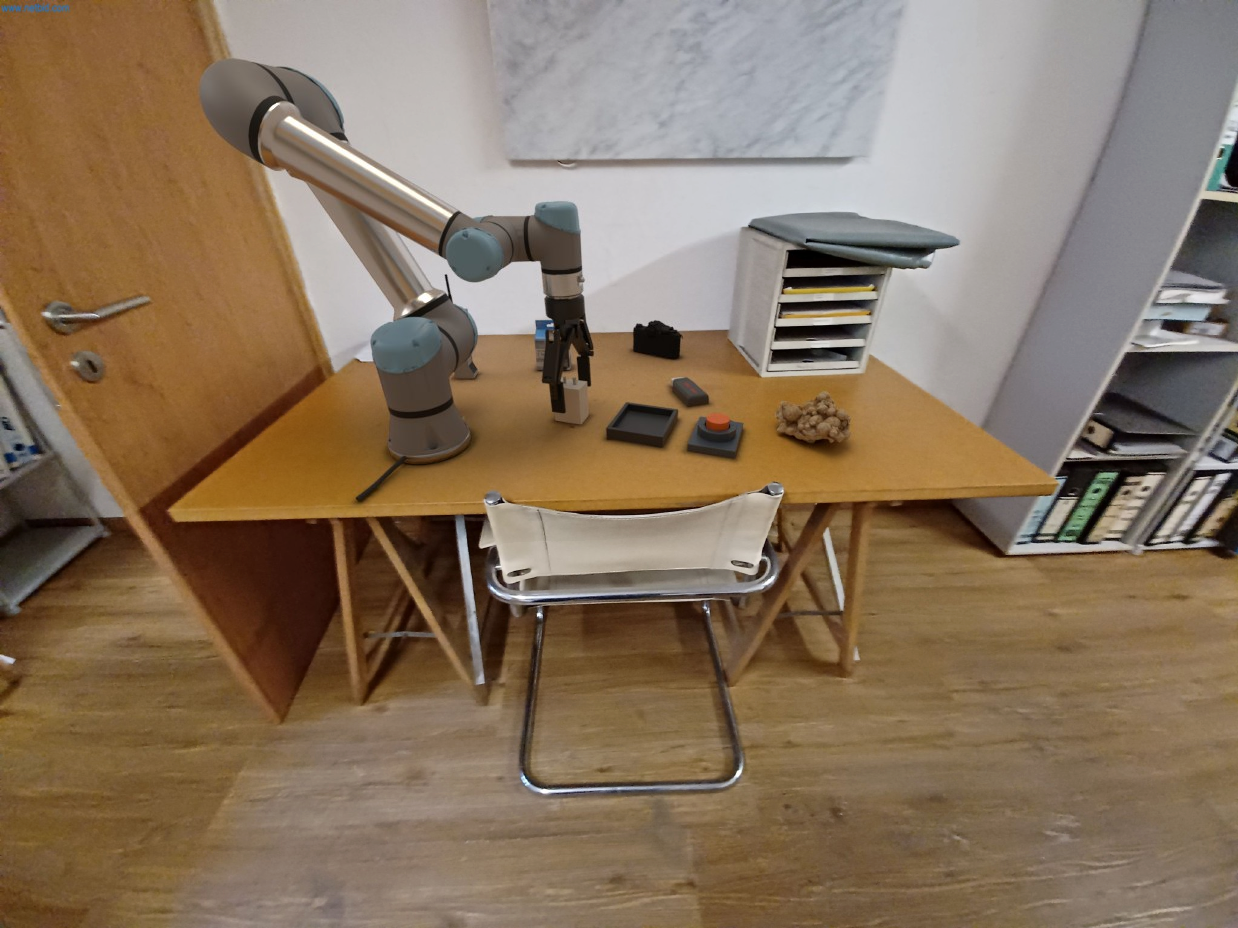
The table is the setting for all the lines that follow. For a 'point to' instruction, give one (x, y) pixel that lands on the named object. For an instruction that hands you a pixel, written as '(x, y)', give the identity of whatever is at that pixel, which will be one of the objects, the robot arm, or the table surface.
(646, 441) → the cradle
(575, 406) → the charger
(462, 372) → the vintage mobile phone
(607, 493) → the table surface
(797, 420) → the mineral formation
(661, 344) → the film camera
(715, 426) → the button
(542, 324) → the label tape box
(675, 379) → the usb drive
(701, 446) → the switch block
